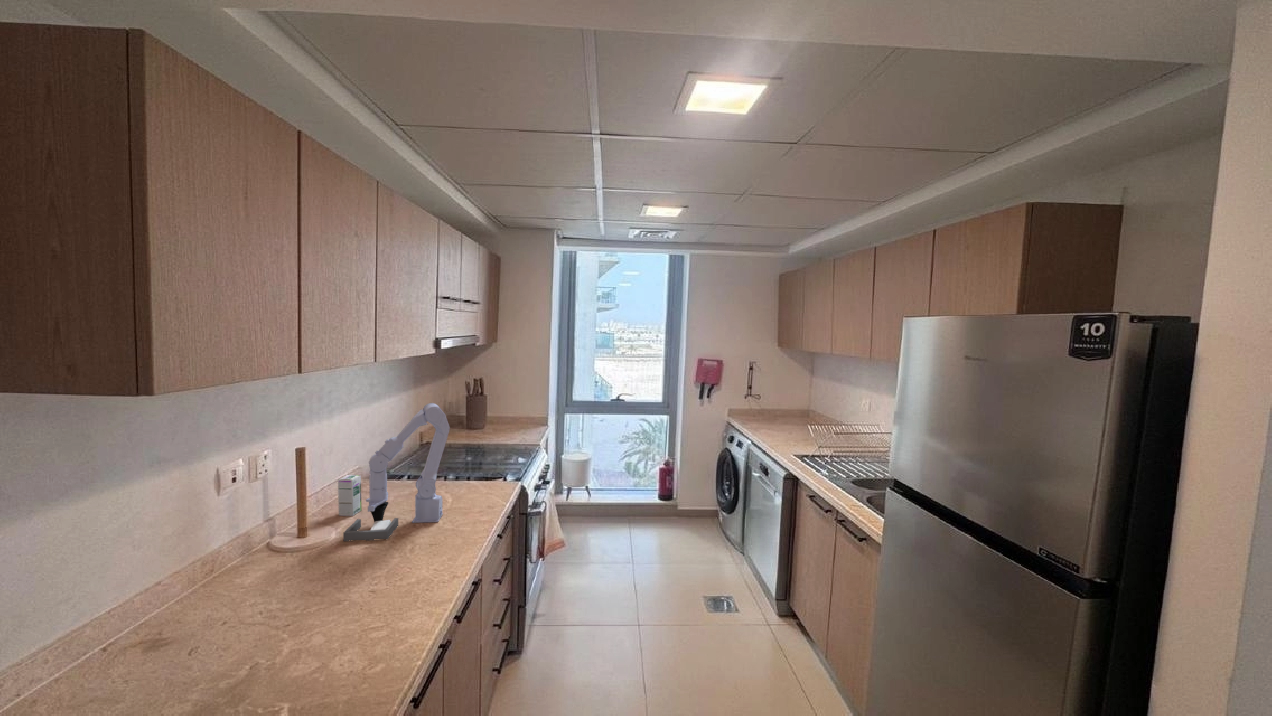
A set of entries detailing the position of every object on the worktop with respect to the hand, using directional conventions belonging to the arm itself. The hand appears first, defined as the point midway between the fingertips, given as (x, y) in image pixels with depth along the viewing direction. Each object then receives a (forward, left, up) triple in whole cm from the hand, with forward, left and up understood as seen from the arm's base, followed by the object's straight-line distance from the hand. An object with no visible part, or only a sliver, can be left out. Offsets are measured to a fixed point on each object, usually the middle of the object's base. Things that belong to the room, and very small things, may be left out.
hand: (378, 523), depth 178 cm
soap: (-3, +5, -2) cm, 6 cm away
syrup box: (+15, -14, -1) cm, 20 cm away
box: (0, +5, -1) cm, 6 cm away
